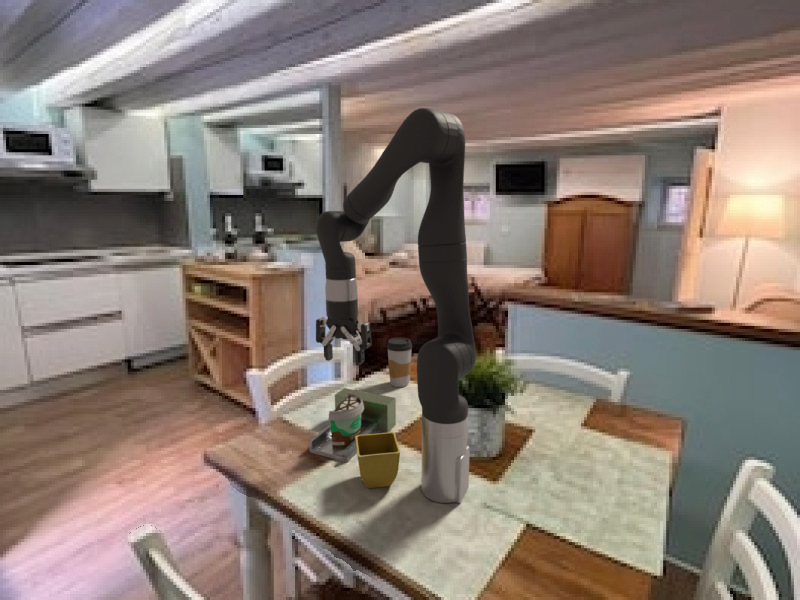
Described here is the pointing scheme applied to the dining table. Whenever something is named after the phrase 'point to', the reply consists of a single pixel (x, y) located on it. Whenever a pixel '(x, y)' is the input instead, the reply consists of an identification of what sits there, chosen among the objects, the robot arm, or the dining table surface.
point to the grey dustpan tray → (373, 420)
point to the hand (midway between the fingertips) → (344, 361)
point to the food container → (346, 421)
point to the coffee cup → (399, 361)
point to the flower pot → (378, 458)
